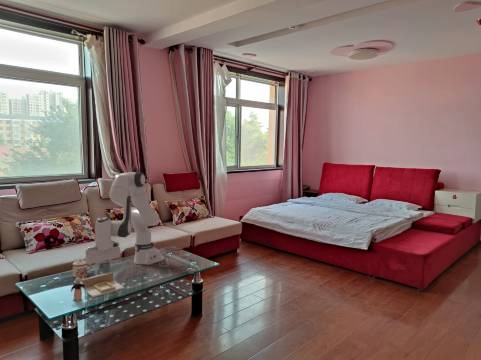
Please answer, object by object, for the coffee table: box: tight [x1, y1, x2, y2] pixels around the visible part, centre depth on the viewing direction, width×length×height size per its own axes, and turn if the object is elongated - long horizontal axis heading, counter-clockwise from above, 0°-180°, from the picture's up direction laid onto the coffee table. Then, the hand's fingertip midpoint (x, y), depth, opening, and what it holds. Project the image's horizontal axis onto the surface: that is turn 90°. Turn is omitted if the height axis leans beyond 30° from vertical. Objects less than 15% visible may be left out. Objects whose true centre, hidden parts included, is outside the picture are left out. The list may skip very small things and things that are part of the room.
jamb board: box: [73, 272, 125, 298], centre depth 211 cm, size 19×29×6 cm, turn 45°
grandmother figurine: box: [70, 277, 86, 302], centre depth 191 cm, size 8×4×13 cm, turn 126°
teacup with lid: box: [72, 258, 93, 278], centre depth 227 cm, size 12×9×12 cm
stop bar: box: [96, 260, 111, 274], centre depth 205 cm, size 8×4×5 cm, turn 47°
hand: (103, 267), depth 205 cm, fingers closed on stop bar, 4 cm apart
